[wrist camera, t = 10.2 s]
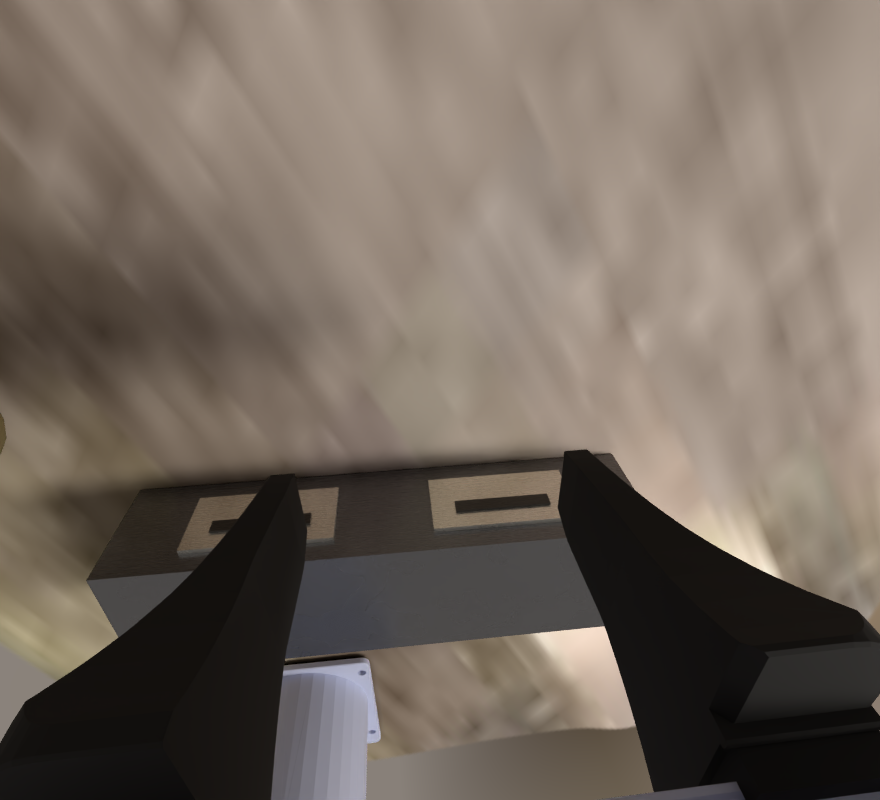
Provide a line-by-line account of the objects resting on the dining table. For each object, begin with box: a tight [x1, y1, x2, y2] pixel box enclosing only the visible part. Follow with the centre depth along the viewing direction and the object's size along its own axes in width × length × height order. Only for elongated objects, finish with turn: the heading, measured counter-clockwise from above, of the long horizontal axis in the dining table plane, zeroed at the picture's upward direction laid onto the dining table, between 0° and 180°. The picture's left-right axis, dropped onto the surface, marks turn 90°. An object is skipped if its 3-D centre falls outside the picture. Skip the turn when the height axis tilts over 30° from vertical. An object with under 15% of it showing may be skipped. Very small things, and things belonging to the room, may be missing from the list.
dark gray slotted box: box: [86, 454, 634, 659], centre depth 23 cm, size 6×22×5 cm, turn 91°
